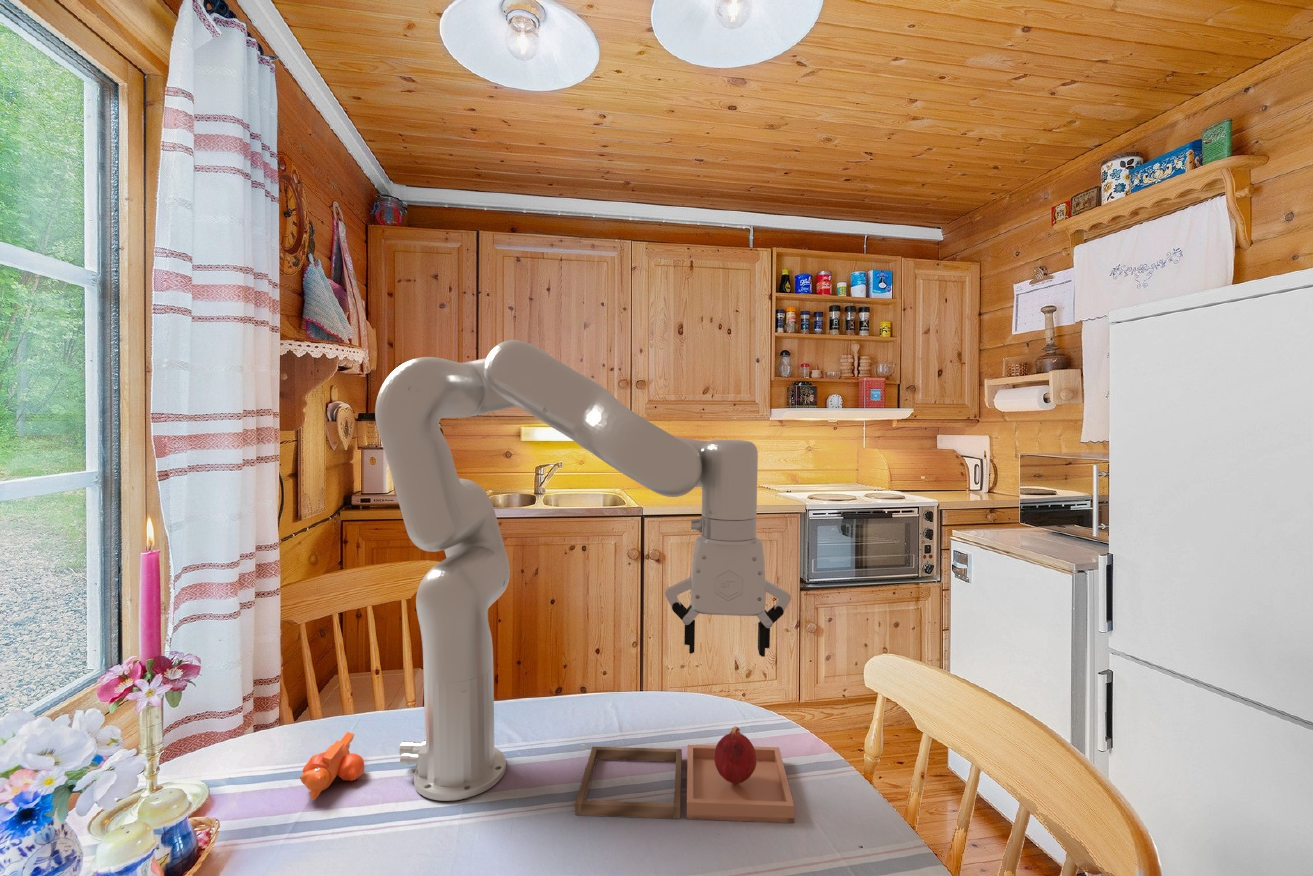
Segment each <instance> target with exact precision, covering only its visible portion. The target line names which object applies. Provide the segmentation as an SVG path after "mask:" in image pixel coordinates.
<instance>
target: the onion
mask: <svg viewBox="0 0 1313 876" xmlns="http://www.w3.org/2000/svg"><path fill="white" fill-rule="evenodd" d="M740 731H741V728H739V727H738V726H733V727H732V728H731V730H730V732H729V733H727V734H725V735H724V736H722V737H721V739H719V741H718V742H717V744H716V749H715V757H714V761H715V766H716V768H717V770H718V772H719V774H720V775H721V776H722V777H723V778H724V779H725V780H726V781H728V782H730V783H733V784H739V783H742V782H744V781H745V780H747V779H748V778H749V777H750V776H751V775H752V773H753V772H754V770H755V768H756V752H755V749H754V747H755V746H754V745H753V743H752V742H751V740H750V739H749V738H748V737H747V736H746V735H744V734H743V733H741V732H740Z"/></svg>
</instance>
